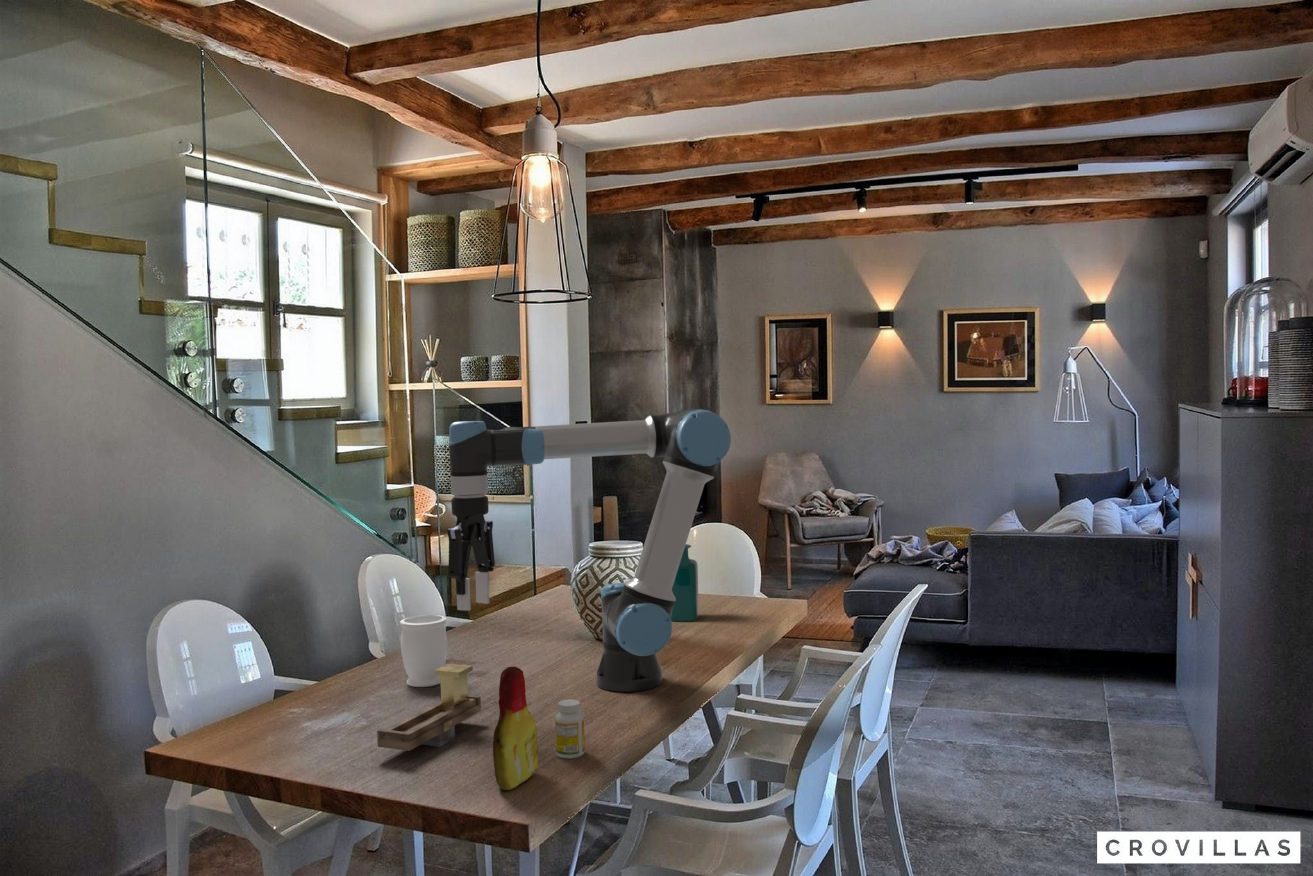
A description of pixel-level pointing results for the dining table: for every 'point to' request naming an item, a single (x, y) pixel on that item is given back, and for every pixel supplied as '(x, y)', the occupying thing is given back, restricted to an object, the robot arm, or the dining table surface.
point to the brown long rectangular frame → (428, 726)
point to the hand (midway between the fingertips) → (473, 606)
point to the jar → (423, 648)
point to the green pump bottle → (686, 590)
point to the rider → (453, 684)
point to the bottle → (514, 733)
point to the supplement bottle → (569, 730)
